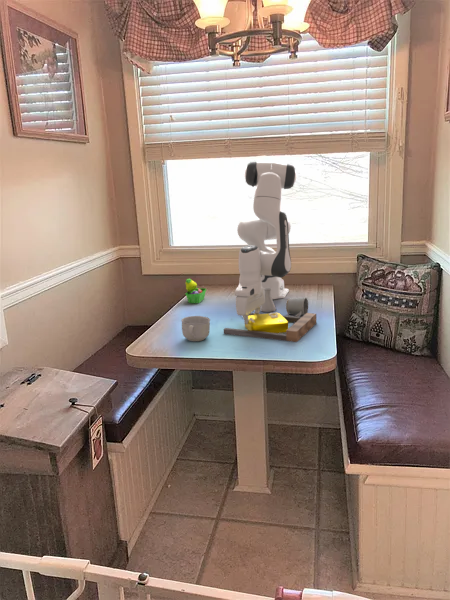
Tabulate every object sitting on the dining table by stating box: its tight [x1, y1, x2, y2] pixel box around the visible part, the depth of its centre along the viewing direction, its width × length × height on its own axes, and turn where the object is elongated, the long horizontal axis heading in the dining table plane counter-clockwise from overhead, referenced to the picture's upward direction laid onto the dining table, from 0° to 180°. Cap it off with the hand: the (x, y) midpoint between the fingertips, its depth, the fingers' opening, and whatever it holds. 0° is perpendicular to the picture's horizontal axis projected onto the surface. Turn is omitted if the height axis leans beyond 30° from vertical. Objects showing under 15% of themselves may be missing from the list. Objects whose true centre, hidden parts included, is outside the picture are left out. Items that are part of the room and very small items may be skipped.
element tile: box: [244, 312, 289, 334], centre depth 204 cm, size 15×15×5 cm
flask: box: [260, 288, 277, 313], centre depth 228 cm, size 7×7×10 cm
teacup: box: [181, 315, 211, 342], centre depth 194 cm, size 14×11×8 cm
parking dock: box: [223, 312, 317, 343], centre depth 203 cm, size 24×30×4 cm
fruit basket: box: [185, 278, 207, 304], centre depth 251 cm, size 11×9×11 cm
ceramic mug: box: [285, 297, 309, 317], centre depth 218 cm, size 11×8×8 cm
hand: (252, 320), depth 207 cm, fingers open, 8 cm apart
